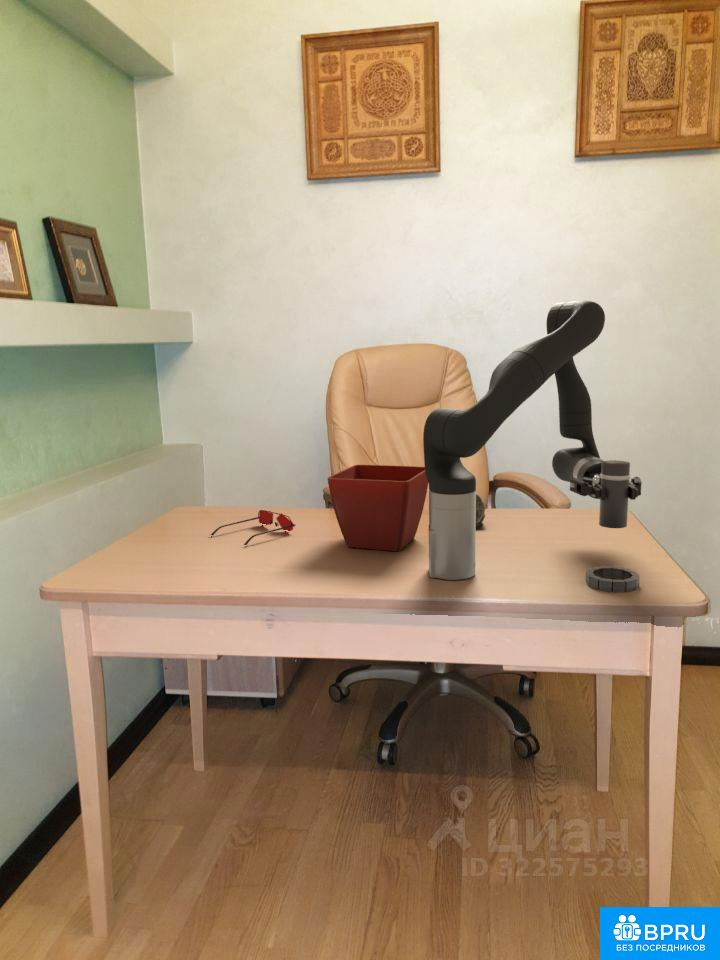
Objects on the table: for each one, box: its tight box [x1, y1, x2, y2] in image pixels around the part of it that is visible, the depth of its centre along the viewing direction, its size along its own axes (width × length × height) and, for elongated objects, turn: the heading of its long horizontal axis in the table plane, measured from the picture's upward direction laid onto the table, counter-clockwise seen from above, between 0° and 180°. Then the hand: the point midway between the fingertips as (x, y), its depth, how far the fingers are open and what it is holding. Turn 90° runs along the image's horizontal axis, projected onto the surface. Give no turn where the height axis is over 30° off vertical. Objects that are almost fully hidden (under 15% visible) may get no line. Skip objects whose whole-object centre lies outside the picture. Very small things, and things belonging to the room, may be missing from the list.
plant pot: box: [327, 464, 429, 552], centre depth 174 cm, size 19×19×17 cm
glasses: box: [210, 509, 296, 546], centre depth 184 cm, size 14×16×5 cm
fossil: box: [476, 493, 486, 528], centre depth 190 cm, size 11×9×10 cm
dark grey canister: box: [598, 459, 631, 529], centre depth 142 cm, size 5×5×12 cm
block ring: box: [585, 565, 640, 593], centre depth 144 cm, size 9×9×2 cm
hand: (618, 494), depth 139 cm, fingers closed on dark grey canister, 5 cm apart
